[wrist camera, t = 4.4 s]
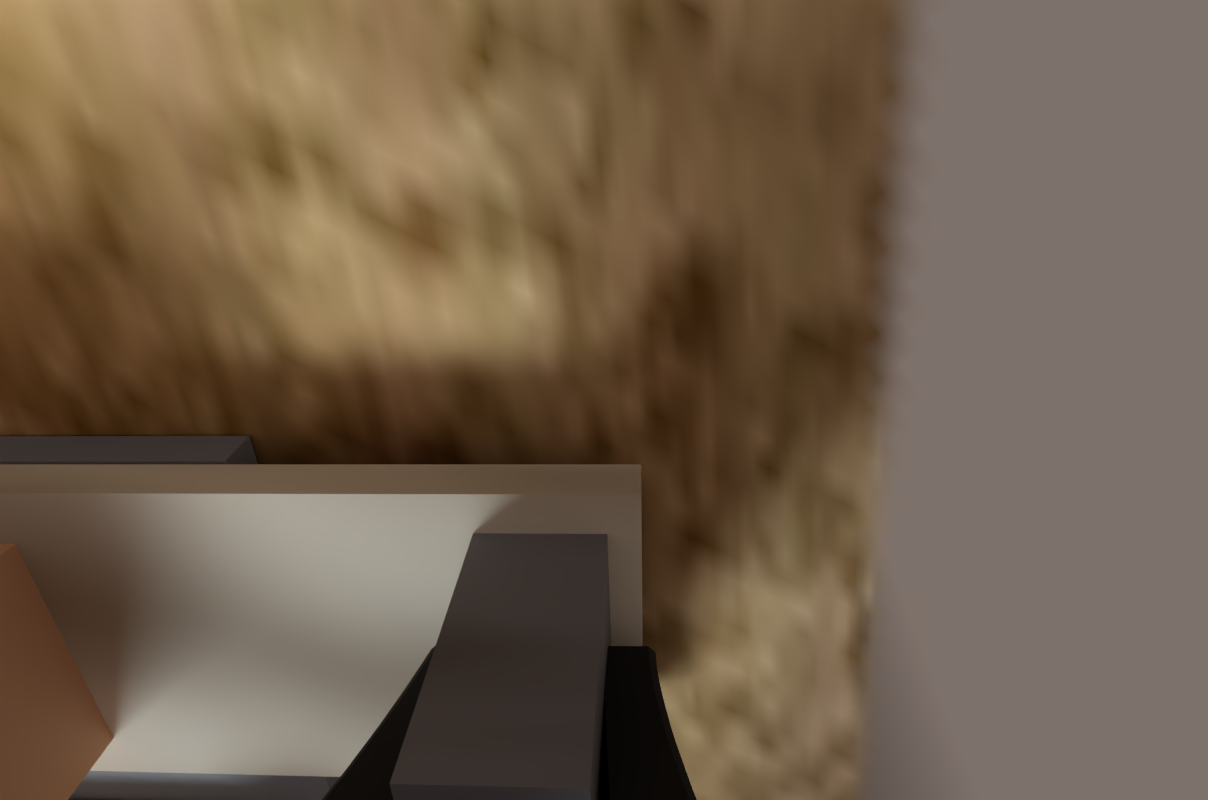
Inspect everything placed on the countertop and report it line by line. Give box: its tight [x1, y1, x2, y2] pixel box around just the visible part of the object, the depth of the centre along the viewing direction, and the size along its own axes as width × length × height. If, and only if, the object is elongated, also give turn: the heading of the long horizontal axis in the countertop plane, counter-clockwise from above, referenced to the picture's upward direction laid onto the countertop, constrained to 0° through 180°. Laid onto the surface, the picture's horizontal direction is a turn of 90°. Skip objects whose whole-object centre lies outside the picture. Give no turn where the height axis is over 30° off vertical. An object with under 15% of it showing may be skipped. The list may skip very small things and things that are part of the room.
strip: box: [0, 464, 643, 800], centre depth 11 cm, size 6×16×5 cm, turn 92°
